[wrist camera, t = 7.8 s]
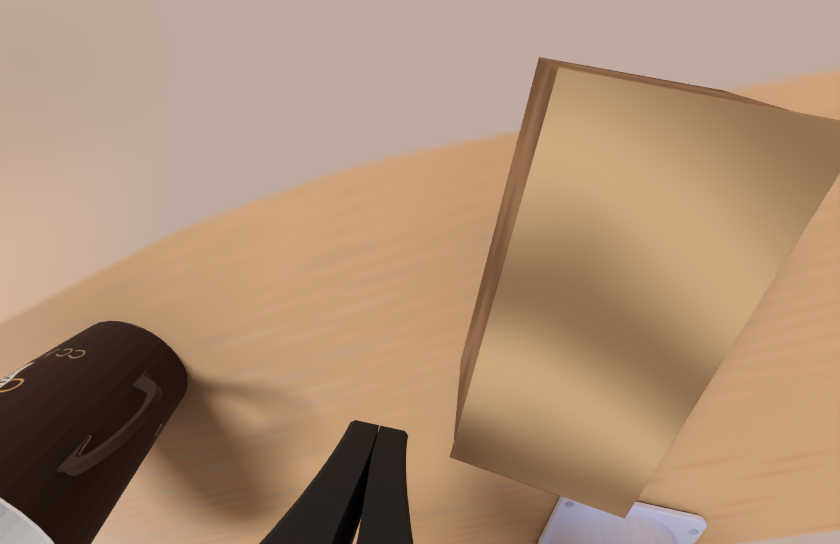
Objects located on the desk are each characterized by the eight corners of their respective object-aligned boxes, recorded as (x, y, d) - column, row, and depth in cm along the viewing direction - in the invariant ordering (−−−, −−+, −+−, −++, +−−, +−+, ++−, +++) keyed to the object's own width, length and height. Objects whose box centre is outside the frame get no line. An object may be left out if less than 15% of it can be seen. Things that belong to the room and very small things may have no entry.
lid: (623, 504, 17) (624, 518, 17) (452, 445, 19) (449, 457, 18) (853, 123, 10) (867, 127, 10) (559, 67, 12) (558, 68, 11)
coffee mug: (99, 419, 29) (-67, 588, 20) (34, 303, 25) (-207, 452, 17) (271, 425, 27) (168, 614, 19) (229, 302, 23) (73, 469, 15)
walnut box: (587, 387, 23) (610, 474, 18) (460, 361, 23) (453, 439, 19) (722, 90, 16) (809, 116, 12) (539, 57, 16) (556, 70, 12)
